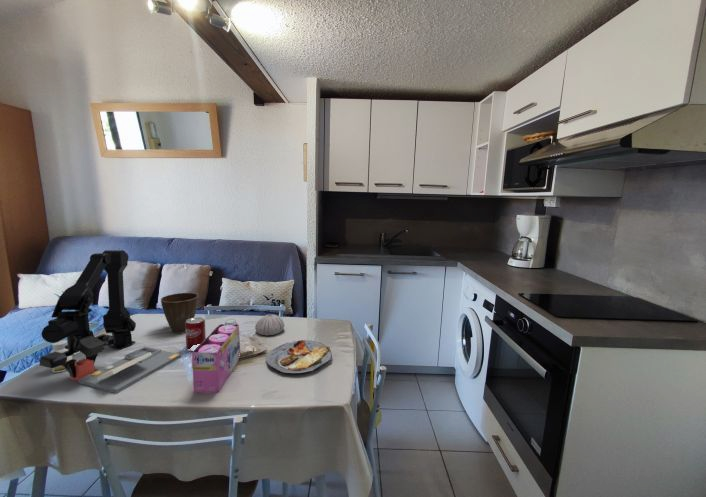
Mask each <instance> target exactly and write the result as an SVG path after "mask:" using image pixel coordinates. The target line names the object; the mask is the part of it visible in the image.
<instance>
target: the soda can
mask: <svg viewBox="0 0 706 497" xmlns="http://www.w3.org/2000/svg"><path fill="white" fill-rule="evenodd" d="M206 331H207V330H206V318H204V317H201V316H197V317H196V316H195V317H194V318H190V319H188V320H186V322H185V332H184V333H185V349H186V348H187V349H190V348H191V347H192V346H193V345H197V344H201V343H202V342H203V341H204V340H205V339H206V338H207V335H206ZM187 349H186V350H187Z"/></svg>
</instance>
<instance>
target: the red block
mask: <svg viewBox="0 0 706 497" xmlns="http://www.w3.org/2000/svg"><path fill="white" fill-rule="evenodd" d="M75 370H76V377H75V378H74V377H72V376H71V375H70V374H69V379H71V380H74V381H78V382H79V380H78V379H80V378H83V377H85V376H87V375H89V374H91V373H93V372H95V371H96V370H95V363H94V360H89V359H86V357H85V358H82V359H78V360H76V362H75Z"/></svg>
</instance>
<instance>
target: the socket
mask: <svg viewBox="0 0 706 497" xmlns="http://www.w3.org/2000/svg"><path fill="white" fill-rule="evenodd" d="M161 350H162V349H159V348H156V347H155V348H154V347H150V346H145V345H144V346H143V347H141V348H138V349H136V350H134V351H132V352H129V353H128V354H126V355H124V358H125V359H127V360H133V359H135V358H138V357H134V355H136V354H139V353H141V352H143V351H150V352H153V353H151V354H152V355H151V356H149V357H147V358H145V359H143V360H141V361H139V362H141V363H142V362H144V361H146V360H148V359H150V358H152V357H153V356H155V355H157V354H159V353H161Z"/></svg>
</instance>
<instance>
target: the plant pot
mask: <svg viewBox="0 0 706 497" xmlns="http://www.w3.org/2000/svg"><path fill="white" fill-rule="evenodd" d="M198 299H199V295H198V294H197V293H193V292H180V293H173V294H168V295H165V296H162V297H161V298H160V303H161V307H162V310H163V314H164V316H165V320H166V321H167V324H168V326H169V329H171V331H172V333H173V334H183V333H185V322H186V320H188V319H190V318H195V317H196V313H197V312H196V311H197V307H198Z"/></svg>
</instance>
